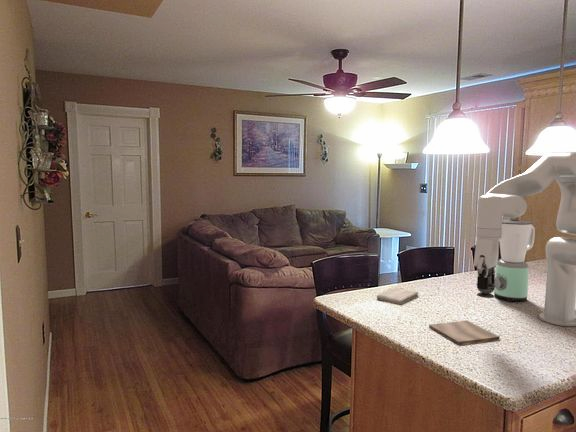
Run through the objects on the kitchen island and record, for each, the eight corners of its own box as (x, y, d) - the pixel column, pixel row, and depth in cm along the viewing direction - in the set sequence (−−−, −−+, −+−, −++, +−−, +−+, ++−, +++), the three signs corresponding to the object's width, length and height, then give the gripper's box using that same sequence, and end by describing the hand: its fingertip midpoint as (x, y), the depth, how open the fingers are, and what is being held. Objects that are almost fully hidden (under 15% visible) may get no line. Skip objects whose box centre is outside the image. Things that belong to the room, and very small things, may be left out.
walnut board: (466, 323, 157) (467, 320, 157) (499, 339, 142) (499, 336, 142) (429, 327, 153) (429, 324, 153) (458, 344, 138) (458, 341, 138)
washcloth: (419, 296, 192) (419, 290, 192) (401, 306, 178) (401, 299, 178) (395, 291, 199) (395, 285, 199) (376, 300, 186) (376, 293, 186)
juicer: (508, 304, 179) (513, 222, 175) (483, 296, 192) (487, 218, 188) (541, 300, 186) (547, 220, 182) (515, 292, 198) (520, 217, 194)
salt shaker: (478, 292, 146) (480, 257, 145) (496, 295, 143) (499, 259, 141) (473, 296, 142) (475, 260, 140) (492, 299, 138) (495, 262, 137)
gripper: (485, 229, 149) (482, 280, 151) (467, 234, 136) (464, 290, 138) (508, 231, 144) (505, 284, 146) (492, 237, 131) (489, 294, 133)
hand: (485, 286), depth 142 cm, fingers closed on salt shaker, 5 cm apart
